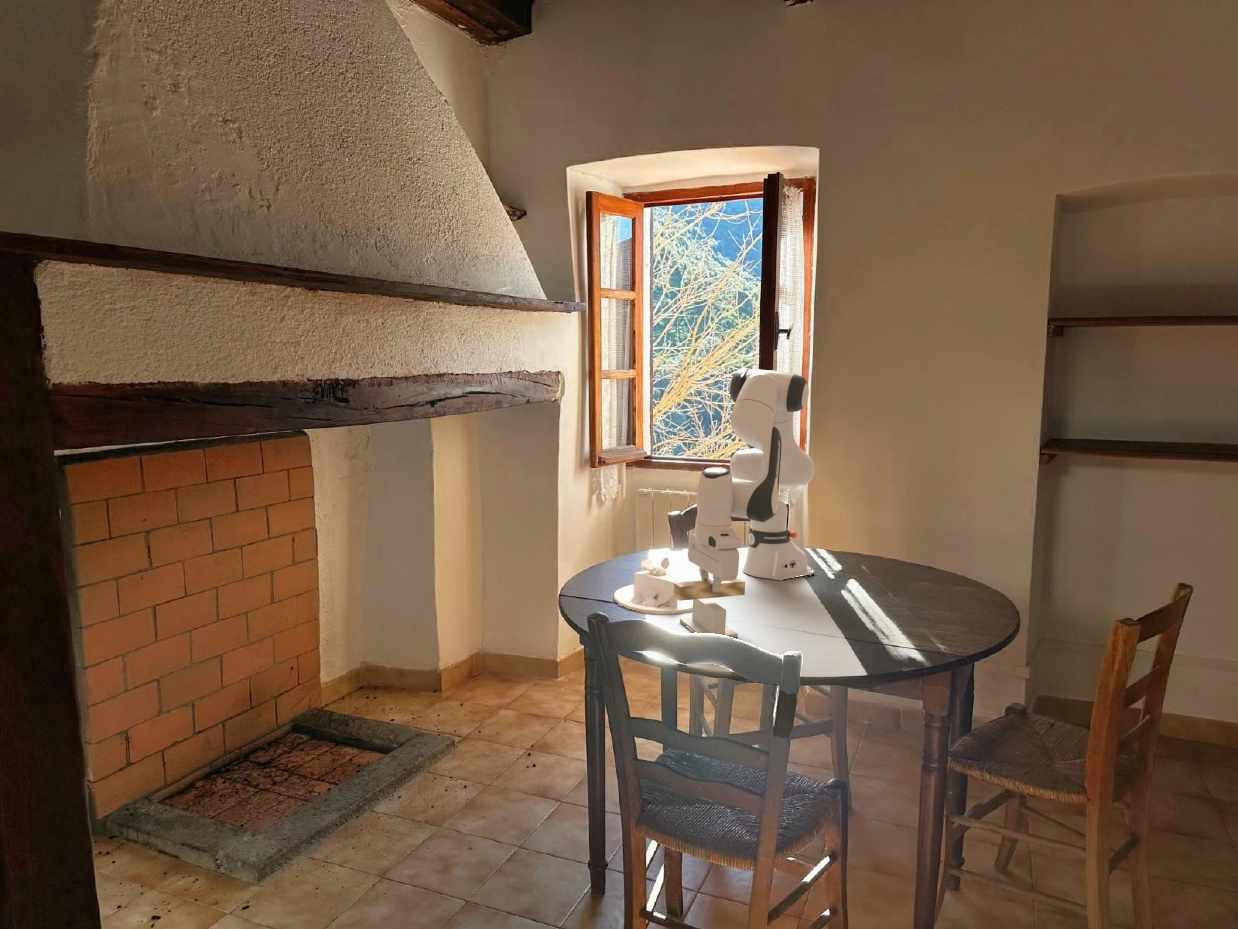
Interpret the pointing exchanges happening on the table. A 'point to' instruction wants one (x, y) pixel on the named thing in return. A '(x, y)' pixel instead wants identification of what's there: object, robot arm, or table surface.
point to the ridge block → (708, 618)
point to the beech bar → (708, 589)
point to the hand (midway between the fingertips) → (710, 588)
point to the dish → (652, 591)
